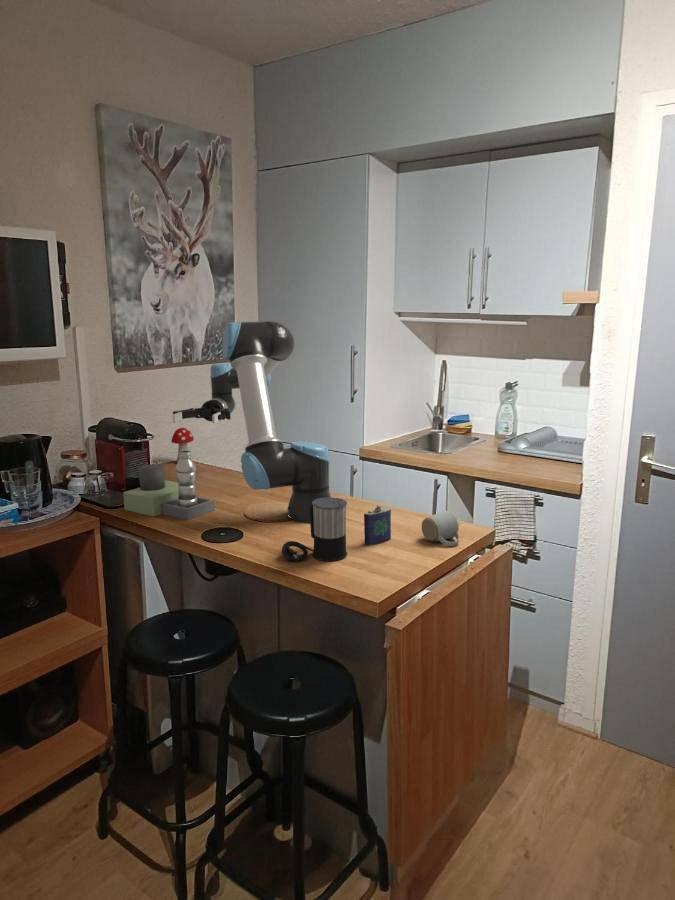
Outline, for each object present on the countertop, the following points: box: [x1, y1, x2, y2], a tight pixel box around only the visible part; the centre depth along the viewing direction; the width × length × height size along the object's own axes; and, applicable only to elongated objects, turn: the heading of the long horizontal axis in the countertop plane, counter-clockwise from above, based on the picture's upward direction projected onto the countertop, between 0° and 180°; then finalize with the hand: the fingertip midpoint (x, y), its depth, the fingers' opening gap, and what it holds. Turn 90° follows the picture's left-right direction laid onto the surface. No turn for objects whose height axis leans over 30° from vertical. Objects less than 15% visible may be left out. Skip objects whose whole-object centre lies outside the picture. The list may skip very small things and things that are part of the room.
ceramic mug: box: [421, 510, 460, 547], centre depth 188 cm, size 11×8×8 cm
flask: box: [363, 504, 392, 546], centre depth 188 cm, size 9×3×11 cm, turn 127°
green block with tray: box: [122, 463, 216, 521], centre depth 220 cm, size 26×18×13 cm
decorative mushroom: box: [171, 427, 195, 463], centre depth 285 cm, size 10×9×15 cm
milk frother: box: [281, 497, 348, 562], centre depth 177 cm, size 14×16×15 cm
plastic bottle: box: [175, 450, 198, 508], centre depth 216 cm, size 6×7×20 cm
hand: (193, 419), depth 221 cm, fingers open, 13 cm apart
